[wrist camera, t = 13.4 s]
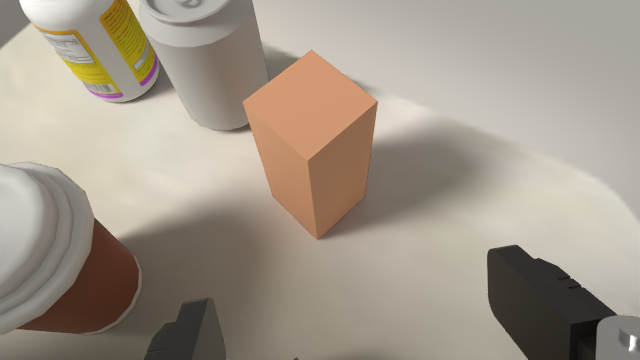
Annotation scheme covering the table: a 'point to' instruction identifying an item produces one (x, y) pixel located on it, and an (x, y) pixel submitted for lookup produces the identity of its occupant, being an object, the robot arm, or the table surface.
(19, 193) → the coffee cup
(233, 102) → the can
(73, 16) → the supplement bottle
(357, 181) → the orange rectangular block
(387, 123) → the table surface
